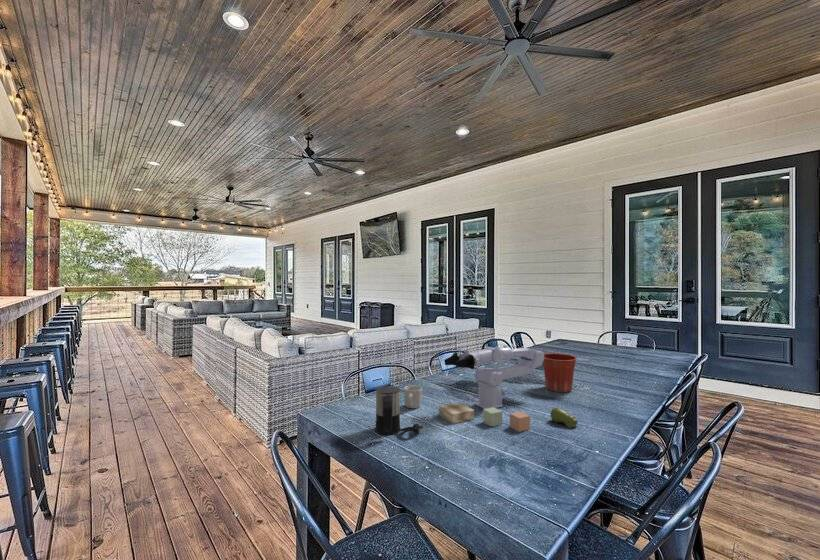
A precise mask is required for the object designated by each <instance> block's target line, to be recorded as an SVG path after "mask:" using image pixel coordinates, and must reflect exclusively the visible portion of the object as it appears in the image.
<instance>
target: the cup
mask: <svg viewBox="0 0 820 560" xmlns="http://www.w3.org/2000/svg"><path fill="white" fill-rule="evenodd" d="M422 395H423V387H422V386H420V385H414V384H413V385H411V384H410V385H406V386H404V387H403V397H404V398H403V399H404V405H405V407H406V408H408V409H418V408H420V407H421V404H422Z"/></svg>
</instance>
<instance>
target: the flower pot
mask: <svg viewBox="0 0 820 560" xmlns="http://www.w3.org/2000/svg"><path fill="white" fill-rule="evenodd" d="M577 360H578V358H577V357H576V356H574V355H571V354H565V353H555V352H554V353H545V354H544V361H543V363H542V365H543V370H544V371H543V373H544V382H545V383H544V384H545V388H546V389H547V390H550V391H551V392H555V393H568V392H569V393H570V392H572V390H573V383H574V373H575V367H576V361H577Z"/></svg>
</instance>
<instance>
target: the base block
mask: <svg viewBox="0 0 820 560" xmlns="http://www.w3.org/2000/svg"><path fill="white" fill-rule="evenodd" d="M438 416H440V417H441V416H442V417H441V418H442V419H444V420H446V421H447V422H449V423H450V424H452V425H455V424H459V422H460V423H464V422H463V421H465V422H469V420H470V421H474V420H475V409H473V408H471V407H470V406H468V405H466V404H463V403H462V402H455V403H454V402H453V403H447V404H442V405H439V406H438ZM454 423H455V424H454Z"/></svg>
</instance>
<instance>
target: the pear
mask: <svg viewBox="0 0 820 560" xmlns="http://www.w3.org/2000/svg"><path fill="white" fill-rule="evenodd" d="M549 415H550V418H551V420H552V421H553V422H555V423H563V424H564V425H565V426H566V427H567V428H575V427H576V426H577V425H578V420H577V419H576V418H575V416H574V415H571V414H570V413H569V412H568V411H567V410H565V409H563V408H560V407H554V408H552V409H551V411H550V414H549Z"/></svg>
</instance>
